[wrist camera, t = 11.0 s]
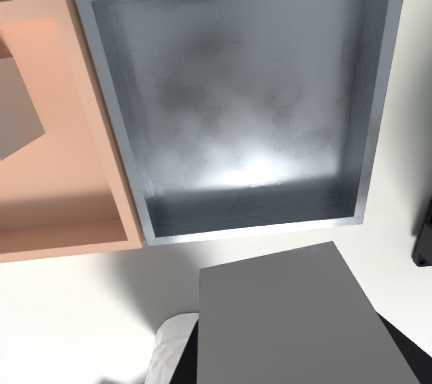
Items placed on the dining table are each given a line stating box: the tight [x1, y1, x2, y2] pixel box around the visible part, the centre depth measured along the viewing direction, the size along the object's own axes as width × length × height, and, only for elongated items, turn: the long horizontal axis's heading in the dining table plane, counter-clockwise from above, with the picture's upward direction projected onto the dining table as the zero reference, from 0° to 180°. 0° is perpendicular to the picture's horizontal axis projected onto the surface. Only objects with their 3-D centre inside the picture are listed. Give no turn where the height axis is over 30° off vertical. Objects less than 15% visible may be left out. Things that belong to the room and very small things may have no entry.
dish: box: [0, 0, 146, 263], centre depth 16 cm, size 13×13×3 cm
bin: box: [75, 0, 403, 246], centre depth 15 cm, size 14×14×2 cm
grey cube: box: [197, 241, 420, 384], centre depth 8 cm, size 4×4×4 cm
